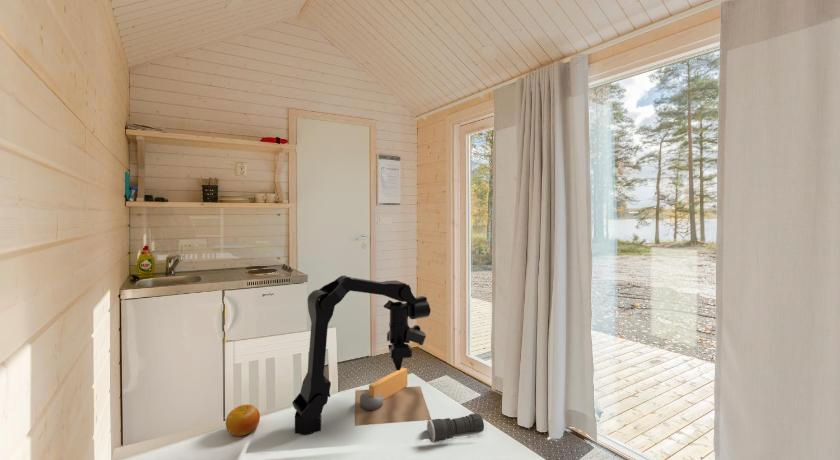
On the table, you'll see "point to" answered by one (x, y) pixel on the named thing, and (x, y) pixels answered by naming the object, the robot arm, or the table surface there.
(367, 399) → the orange and grey block
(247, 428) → the fruit
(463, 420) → the flashlight
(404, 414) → the board
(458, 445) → the table surface
